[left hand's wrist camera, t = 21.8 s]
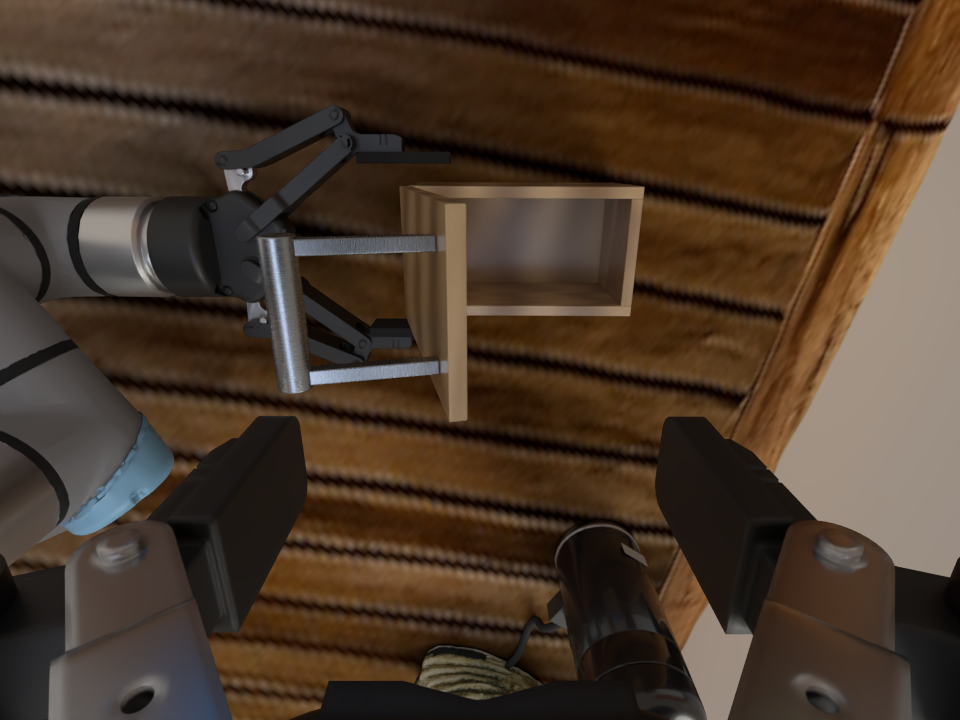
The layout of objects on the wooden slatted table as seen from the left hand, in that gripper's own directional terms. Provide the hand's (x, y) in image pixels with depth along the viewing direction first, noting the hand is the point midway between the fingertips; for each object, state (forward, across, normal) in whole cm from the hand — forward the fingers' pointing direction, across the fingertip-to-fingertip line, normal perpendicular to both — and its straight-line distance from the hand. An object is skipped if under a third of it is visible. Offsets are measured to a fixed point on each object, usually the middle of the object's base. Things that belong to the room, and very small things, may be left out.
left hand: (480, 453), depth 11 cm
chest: (+36, -3, 0) cm, 37 cm away
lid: (+19, +3, 0) cm, 19 cm away
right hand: (+30, +2, 0) cm, 30 cm away
